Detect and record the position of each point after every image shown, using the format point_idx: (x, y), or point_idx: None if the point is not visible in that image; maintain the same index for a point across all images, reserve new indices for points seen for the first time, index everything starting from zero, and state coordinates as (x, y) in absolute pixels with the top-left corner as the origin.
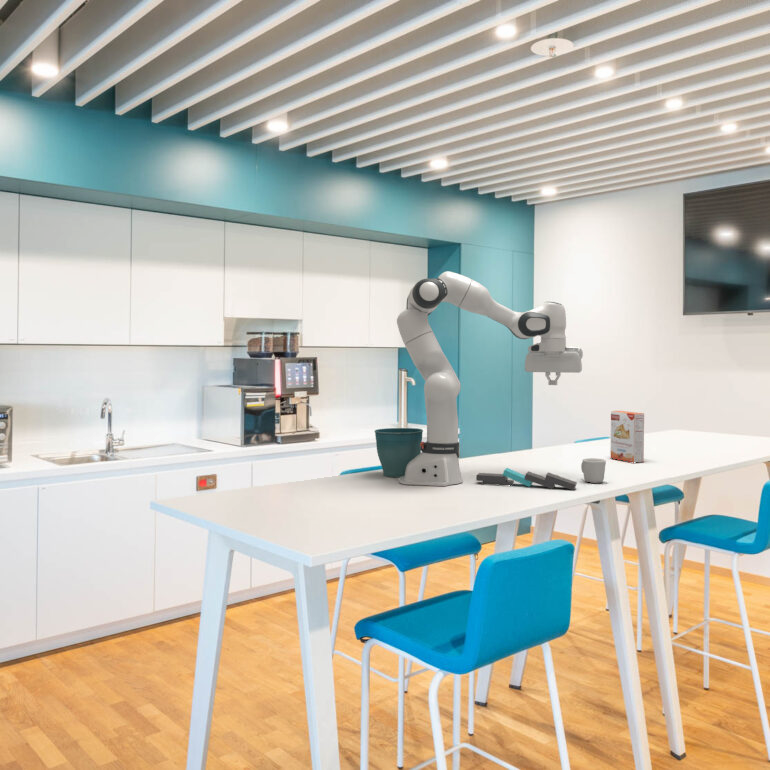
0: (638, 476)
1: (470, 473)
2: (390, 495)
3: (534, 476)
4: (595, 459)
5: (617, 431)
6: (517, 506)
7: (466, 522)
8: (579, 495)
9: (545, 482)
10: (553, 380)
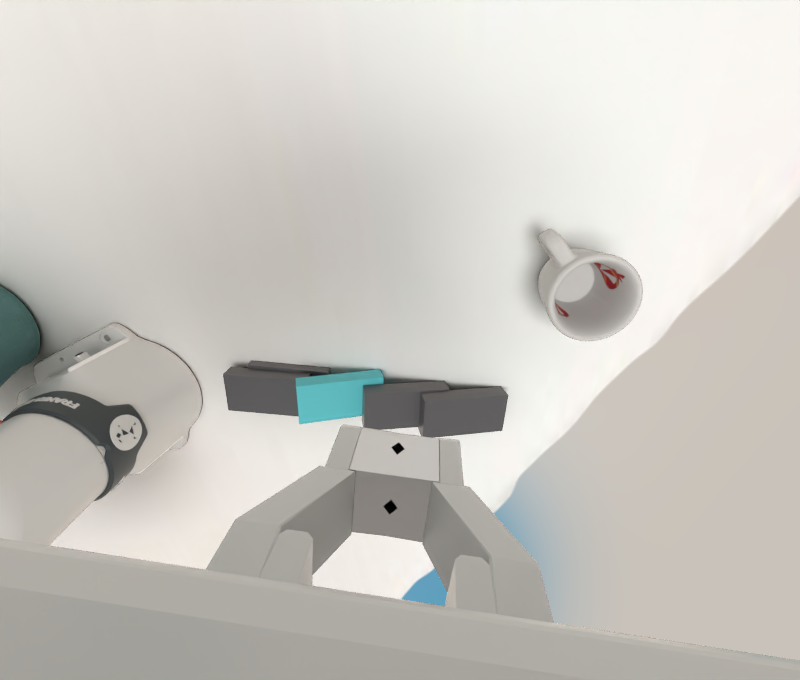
0: (789, 74)
1: (153, 222)
2: (138, 540)
3: (389, 427)
4: (606, 262)
5: None
6: (385, 579)
7: None
8: (507, 472)
9: None
10: (404, 537)
